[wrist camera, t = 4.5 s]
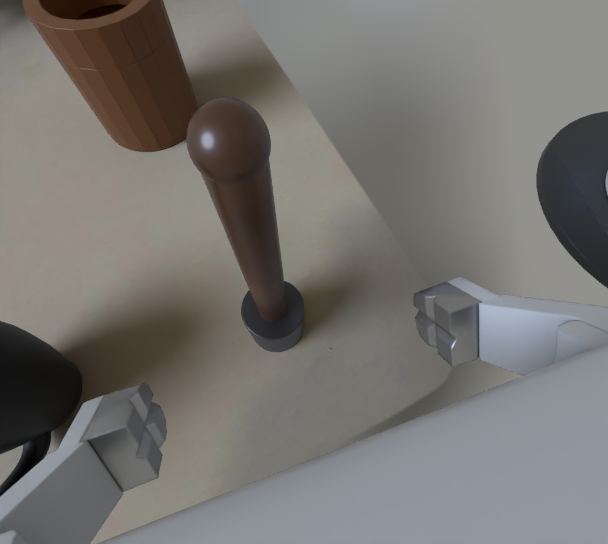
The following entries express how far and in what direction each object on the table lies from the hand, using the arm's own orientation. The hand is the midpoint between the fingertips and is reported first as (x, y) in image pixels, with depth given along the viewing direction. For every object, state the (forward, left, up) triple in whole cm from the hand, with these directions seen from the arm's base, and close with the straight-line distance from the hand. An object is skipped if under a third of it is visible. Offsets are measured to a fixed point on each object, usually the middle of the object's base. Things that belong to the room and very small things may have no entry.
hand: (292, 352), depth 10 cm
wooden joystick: (+1, -5, -17) cm, 18 cm away
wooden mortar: (+11, -31, -17) cm, 37 cm away
